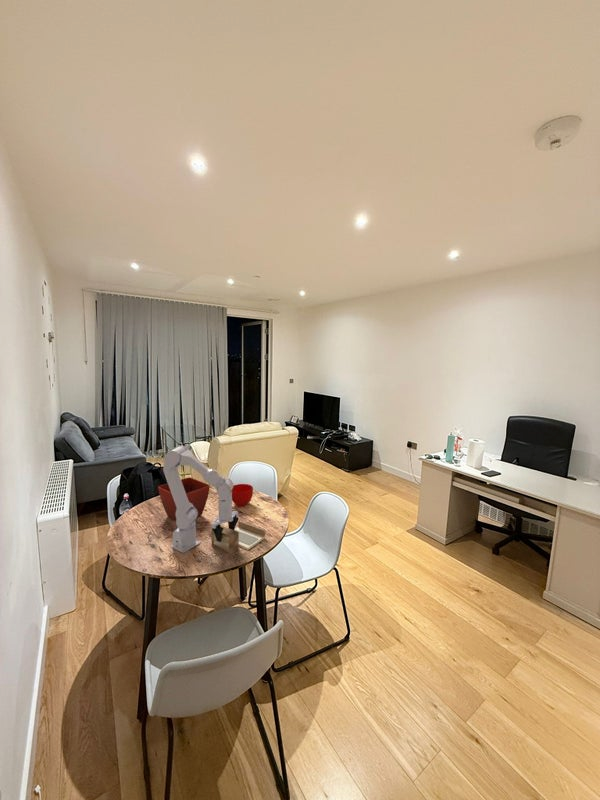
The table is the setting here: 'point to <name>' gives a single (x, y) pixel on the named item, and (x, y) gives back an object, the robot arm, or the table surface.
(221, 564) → the table surface
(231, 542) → the brown slab
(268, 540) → the table surface
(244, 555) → the table surface
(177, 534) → the robot arm
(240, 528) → the tan rimmed flat piece
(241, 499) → the ceramic cup
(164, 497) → the plant pot
